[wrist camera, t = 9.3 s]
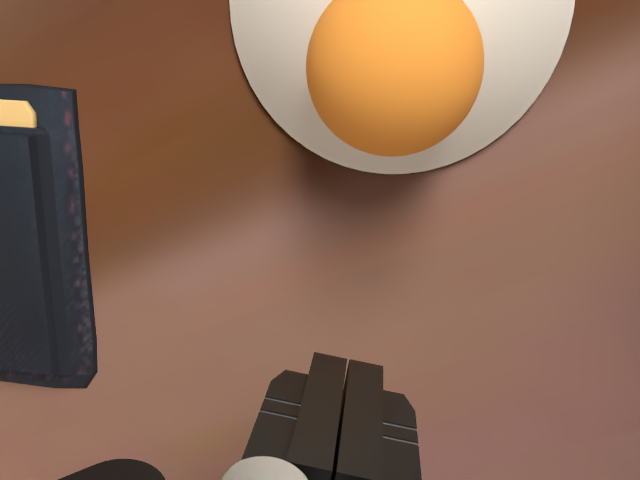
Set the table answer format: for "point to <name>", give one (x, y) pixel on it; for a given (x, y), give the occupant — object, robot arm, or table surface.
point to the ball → (394, 72)
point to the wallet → (44, 242)
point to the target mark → (469, 137)
